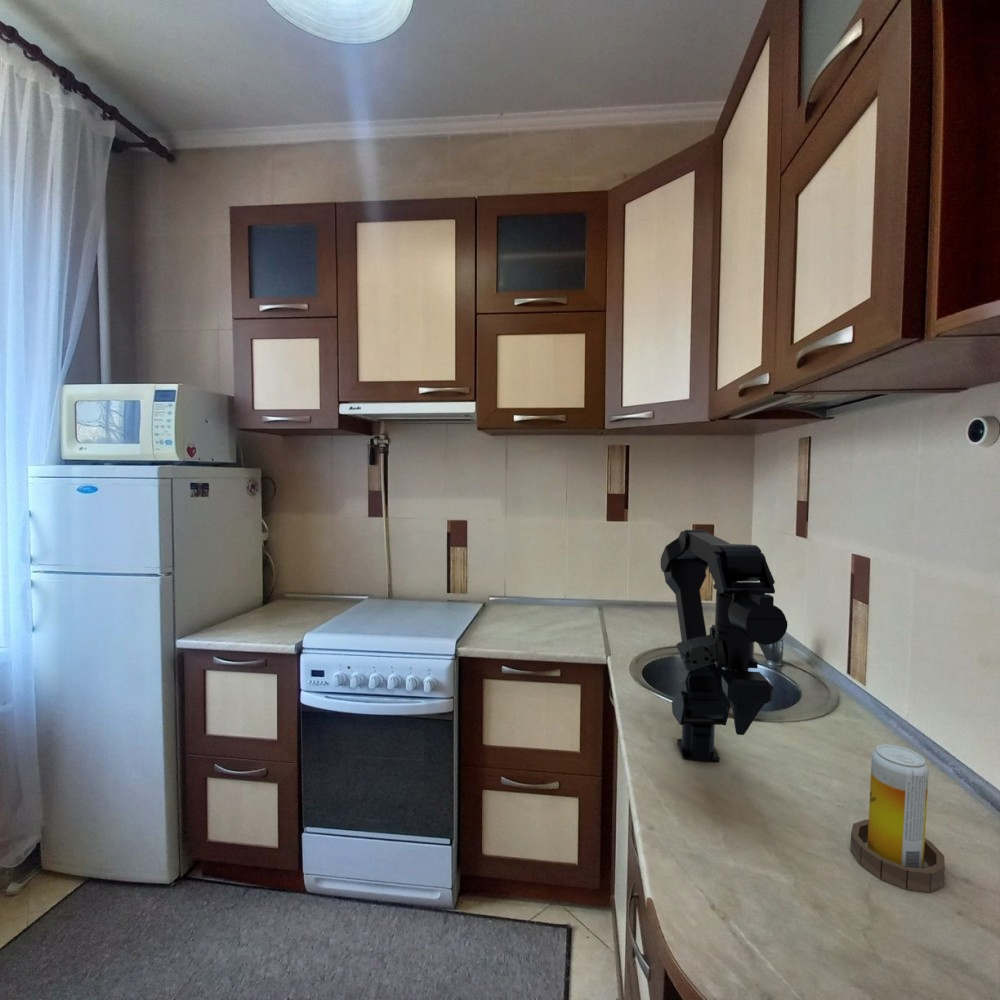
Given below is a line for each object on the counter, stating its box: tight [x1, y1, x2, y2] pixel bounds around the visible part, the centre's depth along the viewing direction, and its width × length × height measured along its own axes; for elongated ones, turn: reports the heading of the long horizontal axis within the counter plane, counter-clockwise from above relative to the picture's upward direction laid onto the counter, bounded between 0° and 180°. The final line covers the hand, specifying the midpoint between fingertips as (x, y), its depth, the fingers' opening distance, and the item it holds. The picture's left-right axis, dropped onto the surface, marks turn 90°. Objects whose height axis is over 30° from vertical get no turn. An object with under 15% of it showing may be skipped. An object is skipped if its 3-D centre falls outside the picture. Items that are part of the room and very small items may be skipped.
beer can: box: [866, 743, 930, 868], centre depth 72 cm, size 6×6×15 cm
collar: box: [849, 819, 946, 893], centre depth 72 cm, size 10×10×2 cm
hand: (731, 720), depth 85 cm, fingers open, 9 cm apart
